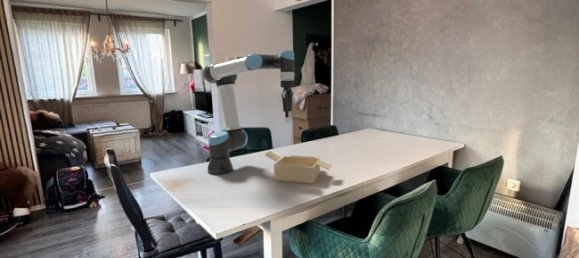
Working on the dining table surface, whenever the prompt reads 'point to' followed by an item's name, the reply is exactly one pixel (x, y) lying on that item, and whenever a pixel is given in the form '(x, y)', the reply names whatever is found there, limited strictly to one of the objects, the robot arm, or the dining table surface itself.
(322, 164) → the flap
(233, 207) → the dining table surface
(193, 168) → the dining table surface
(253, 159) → the dining table surface
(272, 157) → the flap
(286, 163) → the flap
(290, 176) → the carton
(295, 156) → the flap
